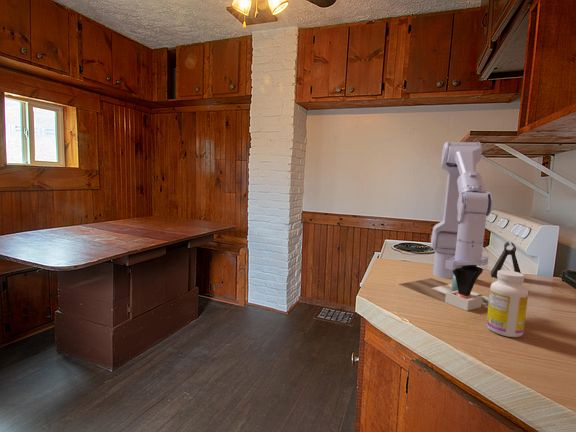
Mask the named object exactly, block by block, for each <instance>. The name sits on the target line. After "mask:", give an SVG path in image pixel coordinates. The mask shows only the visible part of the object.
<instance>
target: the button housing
mask: <svg viewBox="0 0 576 432" xmlns="http://www.w3.org/2000/svg"><path fill="white" fill-rule="evenodd" d="M457 292H458V290H456V291H452V292H447V293H446V297H445V302H446V303H445V302H444V303H445V304H447V303H448V305H450V304H451V306H452V305H453V307H455V306H456V308H457V307H458V308H457V309H460V308H461V309H460V310H463V309H464V310H463V311H465V310H466V312H469V310H470V311H473V310H472V309H474V310H477V309H480V308H479V307H481V304H482V297H480V296H477V295H474V294H471V293H470V295H472V298H470V299H465V298H462V297H460V296H457V295H456V293H457ZM476 308H477V309H476ZM481 308H482V307H481Z"/></svg>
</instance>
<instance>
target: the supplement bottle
mask: <svg viewBox="0 0 576 432" xmlns="http://www.w3.org/2000/svg"><path fill="white" fill-rule="evenodd" d="M496 279H497V280H496V281H493V282H492V283H491V284H490V287H489V295H488V297H489V304H488V306H487V314H486V315H487V316H486V327H487V328H488V329H489V331H491V332H492V333H495V334H497V335H499V336H504V337H508V338H509V337H510V338H520V337H522V336H523V335H524V330H525V323H526V314H527V308H528V307H527V305H528V298H529V291H528V289H527V287H525V286H524V285H523V283H524V281H525V275H524V274H523V273H518V272H514V270H508V269H507V270H506V269H501V270H498V272H497V278H496Z"/></svg>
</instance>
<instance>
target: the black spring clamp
mask: <svg viewBox="0 0 576 432" xmlns="http://www.w3.org/2000/svg"><path fill="white" fill-rule="evenodd" d="M510 243H511V245H510ZM510 243H509V241H506V242H505V243H504V245H503V247H504V249H503V251H502V253H501V254H500V255H499V257H498V259H497V261H496V262H495V264H494V266H493V267H492V269H491V271H490V276H491V278H493V277H494V278H493V279H498V278H497V272H498V270H502V269H503V266H504V263H505V261H506V259H507V258H508V256H510V257H511V261H512V267H513V271H514V272H518V273H521V269H520V265H519V262H518V259H517V256H516V251H517V247H516V246H515V243H513V242H512V241H511V242H510ZM508 246H512V249H508V248H507V247H508ZM521 274H522V273H521Z"/></svg>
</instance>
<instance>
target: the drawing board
mask: <svg viewBox="0 0 576 432" xmlns="http://www.w3.org/2000/svg"><path fill="white" fill-rule="evenodd" d="M397 285H399V286H400V287H404V288H406V289H409V290H411V291H415V292H417V293H420V294H422V295H424V296H427V297H429V298H432V299H434V300H437V301H440V302H442V303H445V304H448V303H446V302H445V297H446V293H447V292H451V290H452V283H446V282H444V281H441V280H437V279H434V278H432V277H431V278H425V279H419V280H414V281H408V282H403V283H402V282H401V283H397ZM471 294H474V295H477V296H480V297H482V304H481V307H479V308H476V309H472V310H469V311H473V310H477V309H481V308H484V307H488V304H489V296H486V295H483V294H481V293H478V292H475V291H471ZM448 305H451V304H448ZM451 306H453V305H451ZM453 307H456V306H453ZM456 308H457V309H460V310H463V311H466V310H464V309H461V308H458V307H456ZM469 311H468V312H469ZM466 312H467V311H466Z"/></svg>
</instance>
